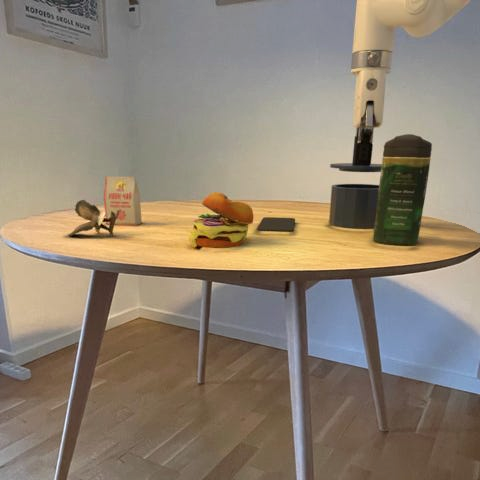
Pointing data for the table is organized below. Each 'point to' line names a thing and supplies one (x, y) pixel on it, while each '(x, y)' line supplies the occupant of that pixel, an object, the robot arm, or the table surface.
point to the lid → (356, 168)
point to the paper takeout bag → (122, 200)
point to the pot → (353, 205)
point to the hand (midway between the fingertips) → (361, 163)
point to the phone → (276, 224)
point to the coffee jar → (402, 190)
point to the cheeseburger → (221, 223)
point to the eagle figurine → (93, 218)
